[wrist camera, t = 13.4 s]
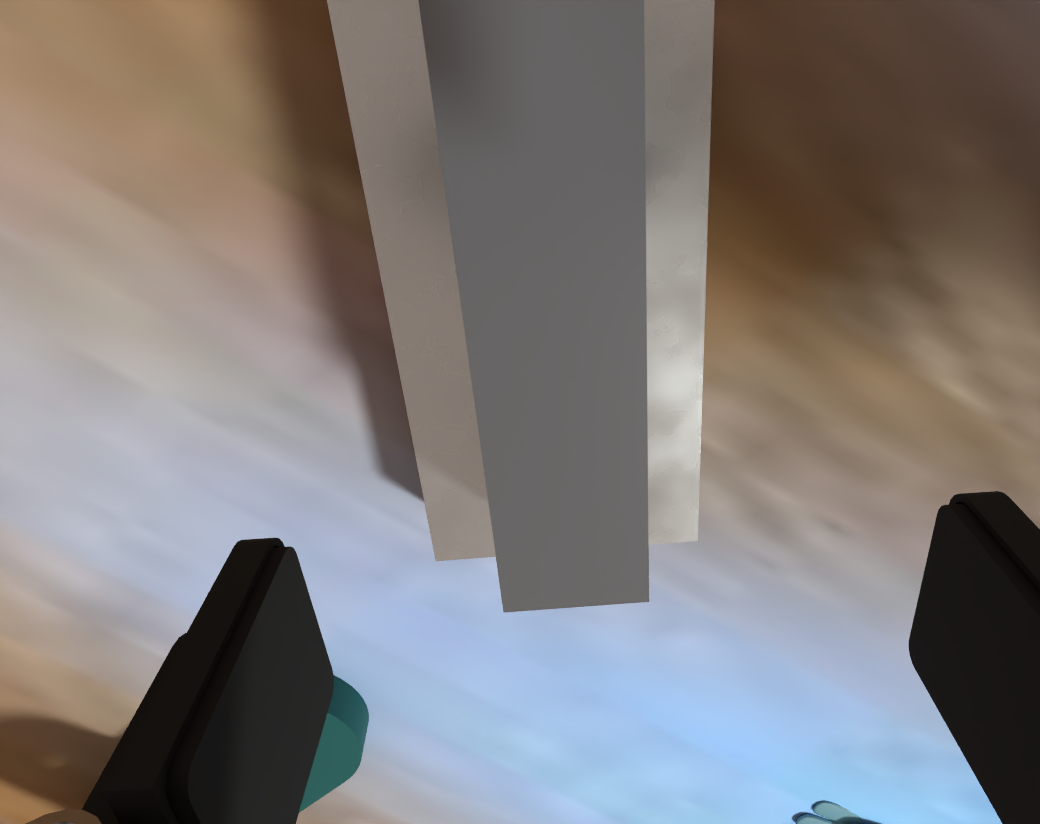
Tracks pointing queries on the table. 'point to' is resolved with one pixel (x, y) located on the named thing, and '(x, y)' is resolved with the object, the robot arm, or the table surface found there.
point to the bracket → (338, 743)
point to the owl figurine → (829, 815)
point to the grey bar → (551, 281)
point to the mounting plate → (432, 273)
